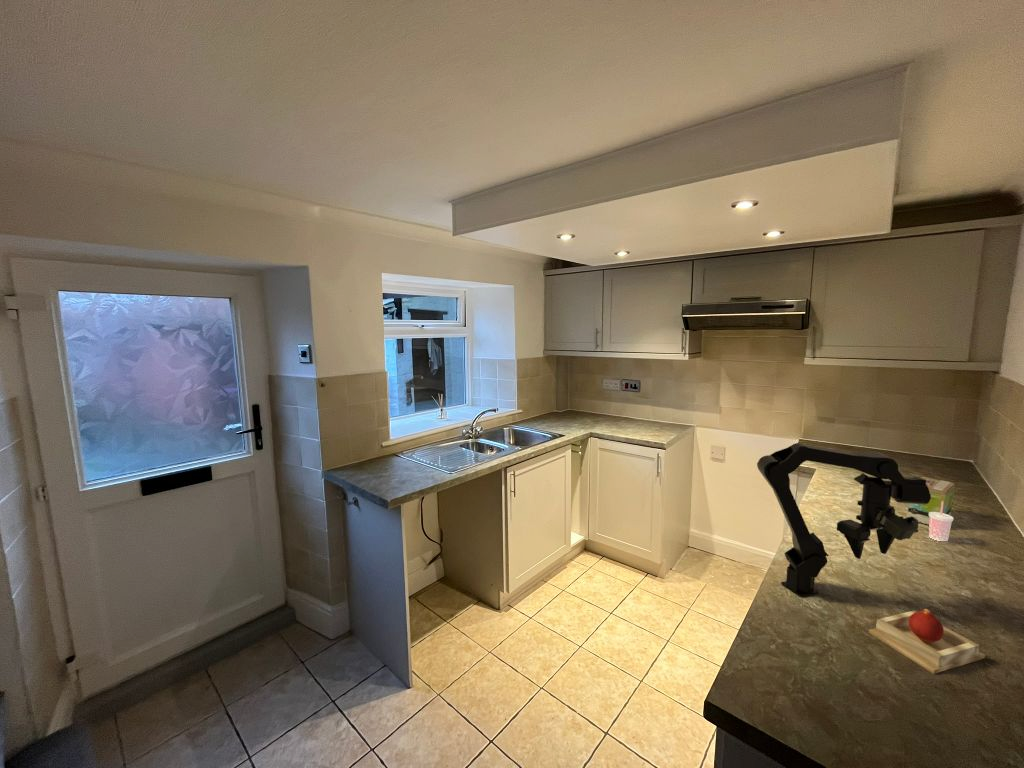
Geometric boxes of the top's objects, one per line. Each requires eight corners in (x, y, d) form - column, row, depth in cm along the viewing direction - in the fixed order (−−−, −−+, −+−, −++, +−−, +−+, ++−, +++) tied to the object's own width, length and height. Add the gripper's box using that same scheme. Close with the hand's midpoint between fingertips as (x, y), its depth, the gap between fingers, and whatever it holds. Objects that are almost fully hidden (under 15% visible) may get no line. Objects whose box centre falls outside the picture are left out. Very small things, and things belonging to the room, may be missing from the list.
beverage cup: (955, 545, 145) (960, 505, 143) (934, 543, 146) (938, 504, 144) (941, 536, 151) (946, 498, 149) (921, 535, 152) (925, 497, 150)
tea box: (942, 530, 156) (947, 490, 154) (905, 520, 164) (909, 483, 162) (951, 519, 165) (955, 482, 163) (915, 510, 173) (919, 475, 171)
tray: (933, 673, 91) (935, 659, 91) (868, 632, 104) (870, 620, 103) (984, 658, 95) (986, 644, 95) (916, 620, 108) (917, 608, 107)
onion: (923, 632, 102) (927, 601, 101) (949, 650, 97) (953, 617, 96) (900, 633, 102) (903, 602, 101) (924, 651, 96) (928, 618, 95)
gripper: (883, 517, 104) (877, 577, 106) (937, 508, 109) (930, 566, 110) (837, 499, 114) (832, 555, 116) (888, 492, 119) (883, 545, 121)
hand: (870, 555), depth 116 cm, fingers open, 9 cm apart
